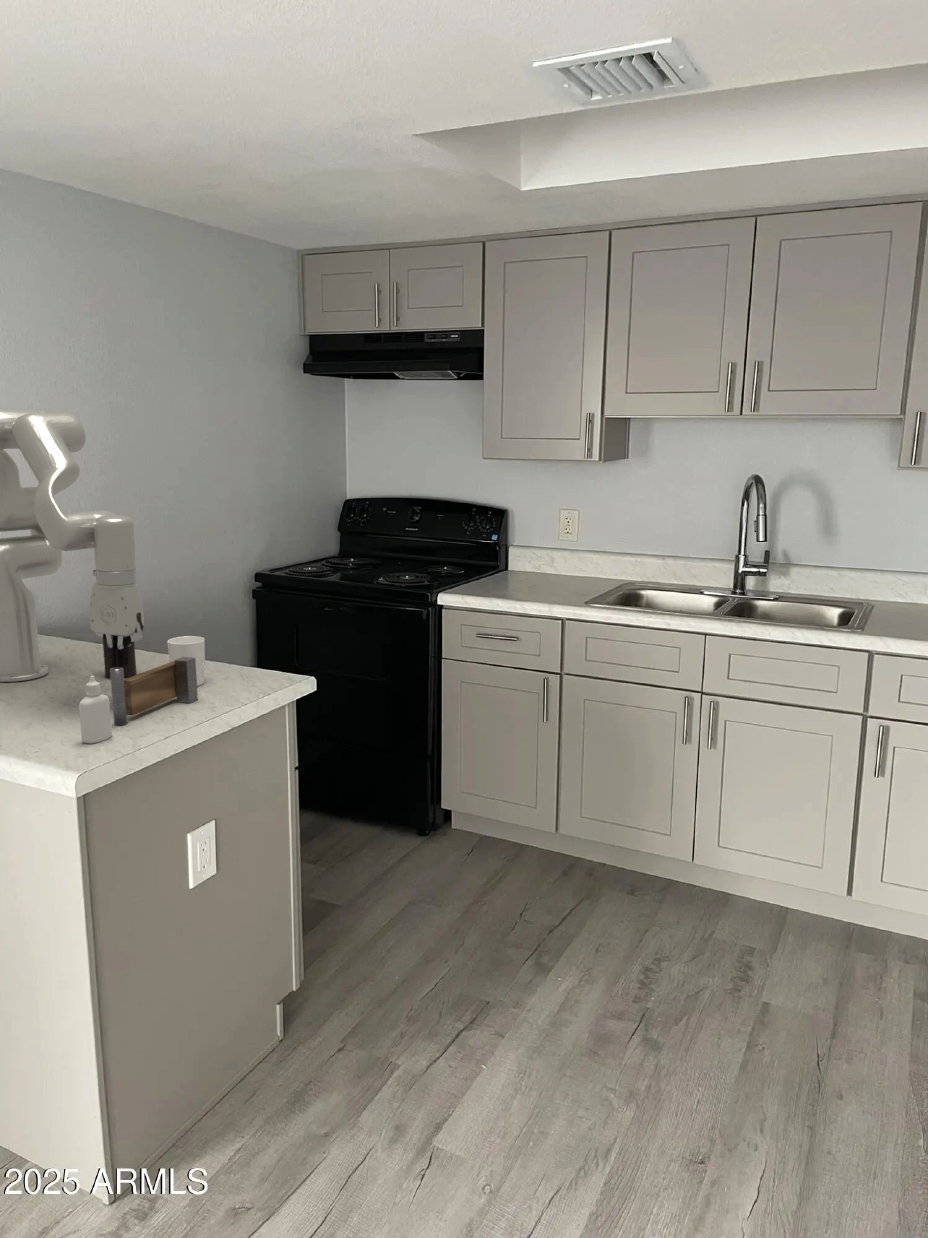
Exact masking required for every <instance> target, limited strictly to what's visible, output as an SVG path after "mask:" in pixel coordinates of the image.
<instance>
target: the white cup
mask: <svg viewBox="0 0 928 1238" xmlns="http://www.w3.org/2000/svg"><path fill="white" fill-rule="evenodd" d="M205 639H206V638H204V637H202V636H198V635H197V636H195V635H187V636H186V635H185V636H176V637H172V638H170V639H168V640H167V641H166V643H167V650H168V661H169V662H172V661H174V660H176V659H179V658H181V657H191V658H195V661H196V678H197V687H198V686H199V687H200V686H202V685H203V684H205V670H206V669H205V666H206V665H205V664H206V662H205V660H206V658H205V657H206V655H205V654H206V648H205V646H206V645H205V642H206V641H205Z"/></svg>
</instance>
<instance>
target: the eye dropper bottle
mask: <svg viewBox="0 0 928 1238" xmlns="http://www.w3.org/2000/svg"><path fill="white" fill-rule="evenodd" d="M85 693H86V696H85V697H83V699H81V700H80V702H79V706H78V708H79V709H78V710H79V723H80V733H81V734H80V735H81V742H83V743H84V744H97V743H101V742H104V741H105V740H108V739H109V738H111V737H112V735H113V729H112V728H113V727H112V717H111V716H112V715H111V714H112V713H111V704H110V698H109V697H108V696H107V695H105V694H103V693H102V692H101V683H100V682H99V681H96V678H95V675H90V676H89V681H88V682H87V683H86V684H85ZM101 693H102V694H101Z"/></svg>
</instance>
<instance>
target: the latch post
mask: <svg viewBox="0 0 928 1238" xmlns="http://www.w3.org/2000/svg"><path fill="white" fill-rule="evenodd" d="M174 663H175V679H176V695H177V697H176V703H182V704H191V703H194V702H195V701H197V700H199V699H198V695H199V694H198V686H197V678H196V661H195V658H191V657H181V658H179V659H176V660H174Z"/></svg>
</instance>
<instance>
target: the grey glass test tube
mask: <svg viewBox="0 0 928 1238" xmlns="http://www.w3.org/2000/svg"><path fill="white" fill-rule="evenodd" d="M110 677H111V678H110V688H111V699H112V701H111V702H112V712H113V713H112V714H113V715H112V717H113V725H114V726H116V727H122V726H126V725H127V724H128V715H127V712H126V698H125V685H124V679H125V678H124V672H123V668H122V667H114V668H111V669H110Z"/></svg>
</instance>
